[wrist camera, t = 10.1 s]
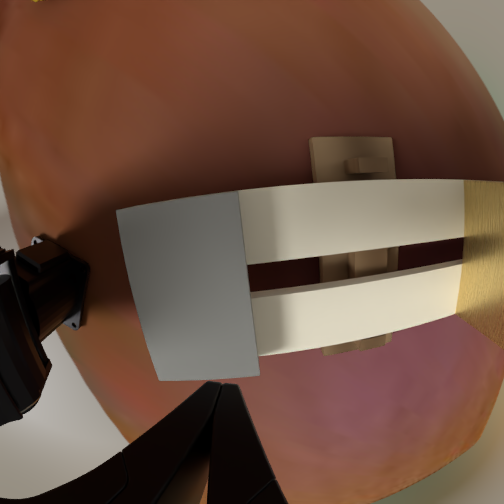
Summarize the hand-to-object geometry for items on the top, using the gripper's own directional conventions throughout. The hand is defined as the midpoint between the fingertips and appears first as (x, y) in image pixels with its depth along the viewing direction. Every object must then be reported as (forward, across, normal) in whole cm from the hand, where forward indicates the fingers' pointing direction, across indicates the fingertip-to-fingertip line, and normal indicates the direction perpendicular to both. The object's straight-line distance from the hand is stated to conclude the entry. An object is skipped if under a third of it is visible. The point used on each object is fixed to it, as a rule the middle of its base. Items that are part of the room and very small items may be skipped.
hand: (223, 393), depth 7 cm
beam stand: (+14, -7, -1) cm, 16 cm away
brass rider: (+11, -19, -3) cm, 22 cm away
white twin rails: (+11, -10, -2) cm, 15 cm away
